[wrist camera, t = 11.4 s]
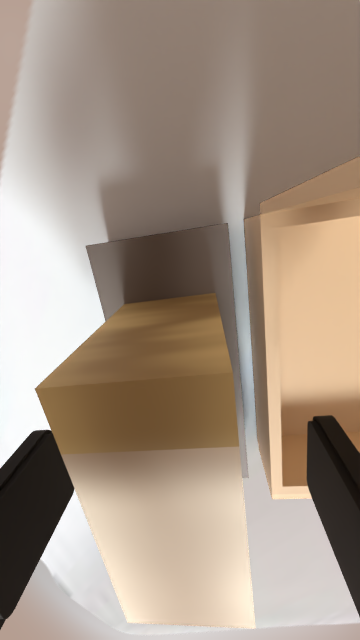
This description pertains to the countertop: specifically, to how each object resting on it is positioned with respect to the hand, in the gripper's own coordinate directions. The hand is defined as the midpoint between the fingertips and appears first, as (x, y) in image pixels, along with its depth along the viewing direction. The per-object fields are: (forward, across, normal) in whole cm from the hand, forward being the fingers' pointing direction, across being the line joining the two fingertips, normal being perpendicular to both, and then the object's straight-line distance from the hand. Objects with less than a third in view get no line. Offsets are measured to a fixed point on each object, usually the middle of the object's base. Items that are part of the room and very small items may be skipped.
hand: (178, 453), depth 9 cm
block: (+5, 0, 0) cm, 5 cm away
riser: (+8, 0, 0) cm, 8 cm away
